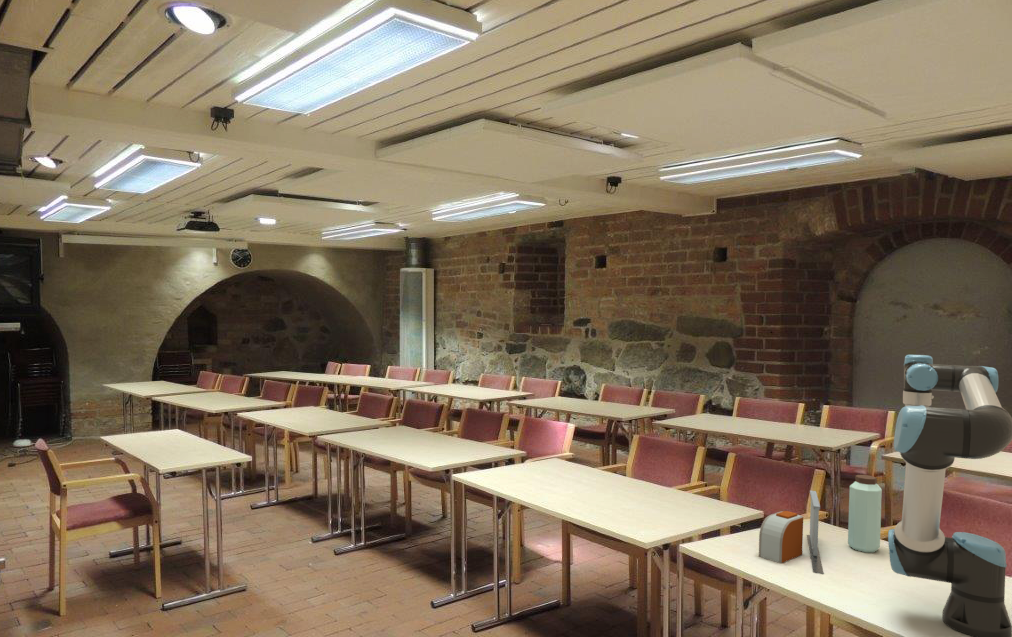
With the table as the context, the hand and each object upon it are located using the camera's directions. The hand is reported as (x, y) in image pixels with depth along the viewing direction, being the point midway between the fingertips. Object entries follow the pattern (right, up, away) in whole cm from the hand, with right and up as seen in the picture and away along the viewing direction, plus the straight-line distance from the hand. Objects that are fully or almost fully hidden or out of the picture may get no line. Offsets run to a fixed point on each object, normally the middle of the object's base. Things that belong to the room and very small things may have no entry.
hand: (914, 483), depth 213 cm
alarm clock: (-32, -30, +22) cm, 49 cm away
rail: (-20, -30, +24) cm, 43 cm away
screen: (-18, -29, +30) cm, 46 cm away
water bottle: (0, -30, +30) cm, 43 cm away
